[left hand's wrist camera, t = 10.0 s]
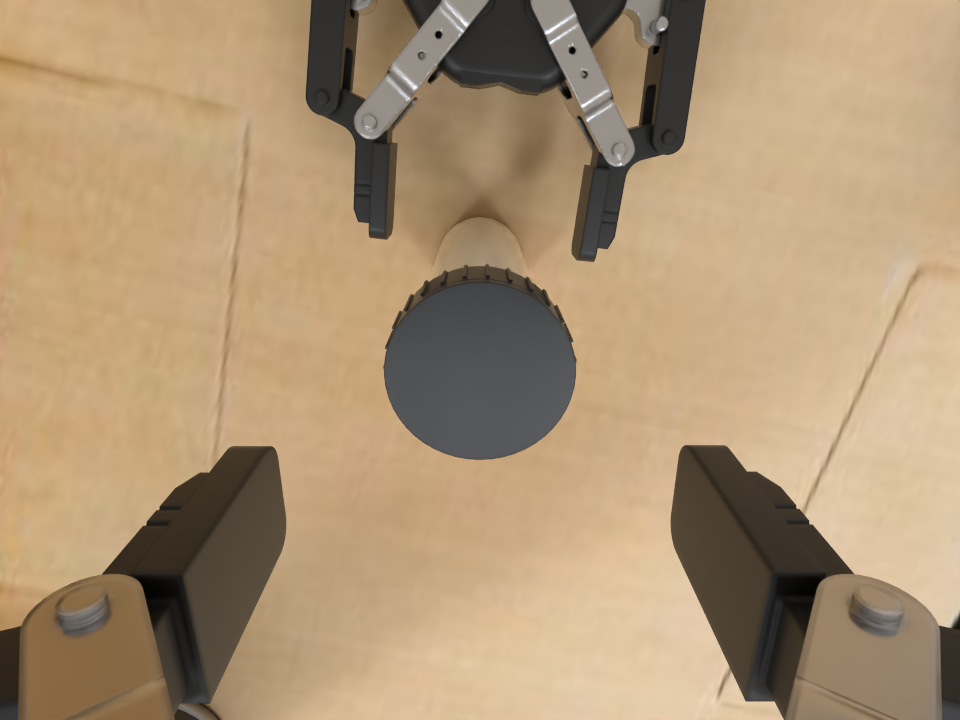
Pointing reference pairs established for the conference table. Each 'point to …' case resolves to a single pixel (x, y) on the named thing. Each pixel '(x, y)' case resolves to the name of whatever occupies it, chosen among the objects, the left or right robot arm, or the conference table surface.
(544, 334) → the lid
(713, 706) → the conference table surface
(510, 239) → the jar
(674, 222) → the conference table surface
